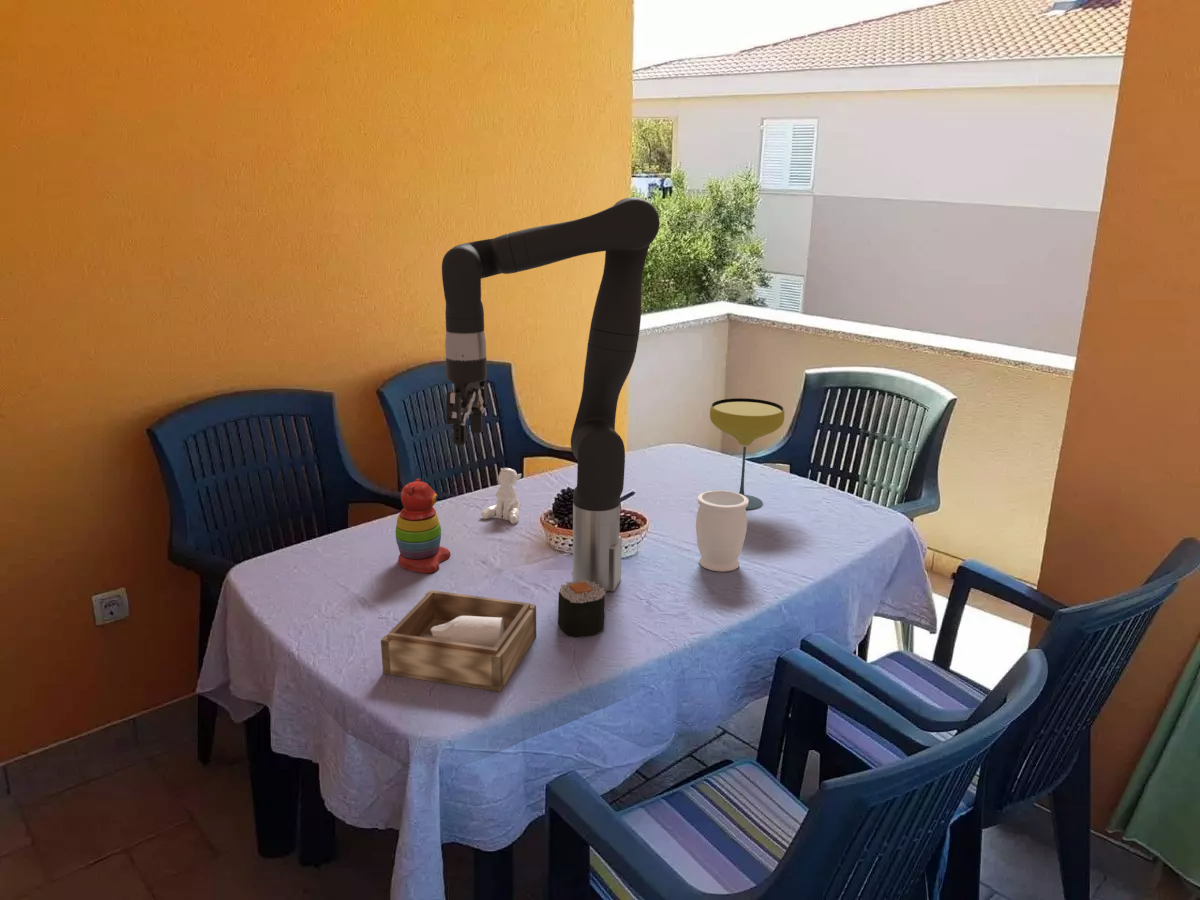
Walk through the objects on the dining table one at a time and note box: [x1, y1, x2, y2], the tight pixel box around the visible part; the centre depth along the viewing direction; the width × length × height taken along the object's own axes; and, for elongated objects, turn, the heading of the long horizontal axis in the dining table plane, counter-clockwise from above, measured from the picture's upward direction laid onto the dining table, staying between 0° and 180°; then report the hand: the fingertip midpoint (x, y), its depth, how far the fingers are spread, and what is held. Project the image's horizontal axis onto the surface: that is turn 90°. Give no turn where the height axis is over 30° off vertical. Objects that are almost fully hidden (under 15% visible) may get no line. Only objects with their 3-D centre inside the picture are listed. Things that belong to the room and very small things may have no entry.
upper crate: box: [386, 590, 531, 654], centre depth 150 cm, size 19×17×6 cm
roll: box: [431, 616, 504, 648], centre depth 150 cm, size 6×12×6 cm, turn 89°
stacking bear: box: [395, 478, 451, 574], centre depth 185 cm, size 11×10×18 cm
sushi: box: [557, 579, 606, 638], centre depth 160 cm, size 8×8×8 cm
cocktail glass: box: [709, 397, 785, 511], centre depth 220 cm, size 18×18×25 cm
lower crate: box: [380, 590, 537, 693], centre depth 150 cm, size 20×18×6 cm
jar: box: [695, 489, 749, 573], centre depth 186 cm, size 11×10×15 cm
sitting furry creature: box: [480, 467, 522, 525], centre depth 211 cm, size 10×9×12 cm
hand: (468, 438), depth 170 cm, fingers open, 8 cm apart
